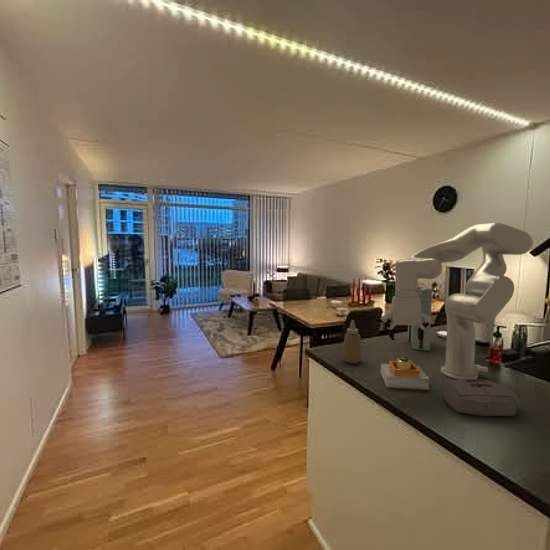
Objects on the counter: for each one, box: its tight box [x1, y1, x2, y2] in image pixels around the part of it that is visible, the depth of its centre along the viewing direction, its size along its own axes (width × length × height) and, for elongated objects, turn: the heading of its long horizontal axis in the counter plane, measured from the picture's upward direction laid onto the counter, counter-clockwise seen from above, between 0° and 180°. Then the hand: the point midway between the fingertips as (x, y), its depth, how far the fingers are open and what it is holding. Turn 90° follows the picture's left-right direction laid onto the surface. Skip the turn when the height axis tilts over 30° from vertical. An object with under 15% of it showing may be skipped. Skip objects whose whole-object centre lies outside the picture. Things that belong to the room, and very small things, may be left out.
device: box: [407, 284, 433, 352], centre depth 155 cm, size 16×8×30 cm, turn 164°
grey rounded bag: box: [441, 378, 521, 417], centre depth 96 cm, size 15×8×20 cm
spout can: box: [396, 356, 412, 370], centre depth 115 cm, size 6×5×9 cm
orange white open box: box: [380, 360, 430, 391], centre depth 114 cm, size 14×12×6 cm
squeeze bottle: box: [342, 320, 363, 364], centre depth 134 cm, size 8×8×18 cm
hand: (405, 339), depth 113 cm, fingers open, 9 cm apart
